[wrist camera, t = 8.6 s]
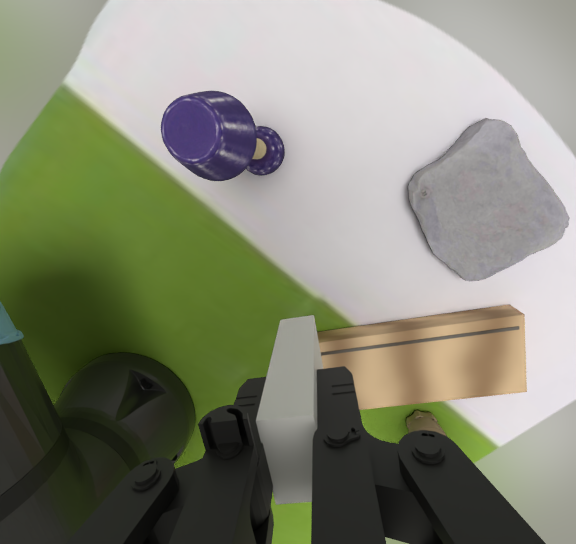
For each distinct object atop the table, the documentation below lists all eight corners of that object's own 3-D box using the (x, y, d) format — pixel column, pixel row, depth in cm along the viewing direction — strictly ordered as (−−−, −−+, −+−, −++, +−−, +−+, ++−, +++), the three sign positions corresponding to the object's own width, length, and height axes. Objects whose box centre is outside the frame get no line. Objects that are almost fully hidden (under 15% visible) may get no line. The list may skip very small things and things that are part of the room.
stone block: (457, 279, 35) (562, 220, 30) (466, 299, 30) (590, 234, 26) (387, 186, 33) (487, 111, 29) (387, 193, 29) (504, 106, 25)
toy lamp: (269, 188, 32) (218, 198, 16) (225, 166, 32) (128, 153, 16) (292, 139, 31) (260, 97, 15) (246, 116, 31) (162, 46, 15)
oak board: (301, 401, 38) (300, 416, 35) (287, 336, 36) (284, 348, 33) (512, 377, 35) (527, 392, 32) (509, 304, 33) (524, 315, 30)
